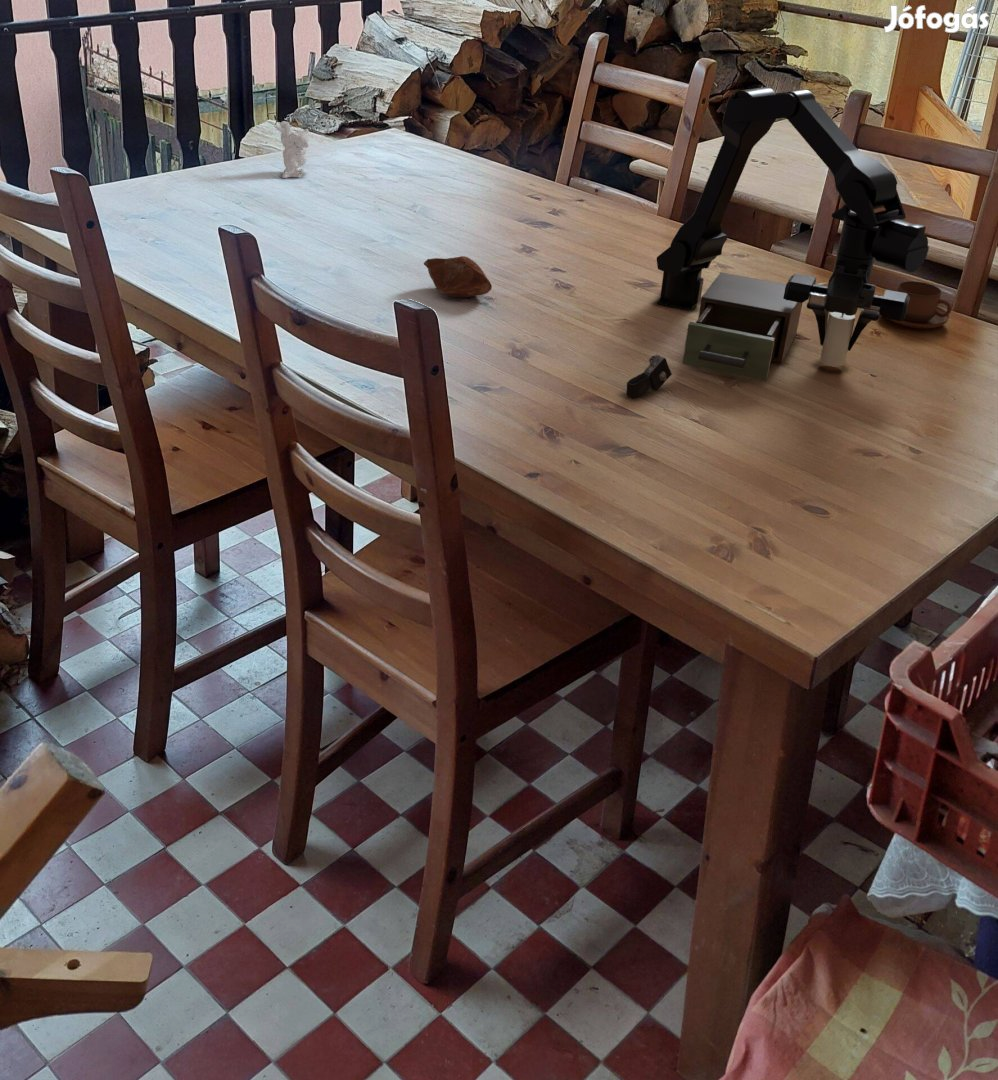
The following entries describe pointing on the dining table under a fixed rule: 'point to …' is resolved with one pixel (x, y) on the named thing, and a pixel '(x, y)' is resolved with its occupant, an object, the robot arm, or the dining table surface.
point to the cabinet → (756, 303)
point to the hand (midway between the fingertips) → (835, 347)
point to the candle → (837, 339)
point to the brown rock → (458, 277)
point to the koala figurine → (293, 149)
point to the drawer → (733, 341)
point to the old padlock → (649, 377)
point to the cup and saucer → (923, 306)
